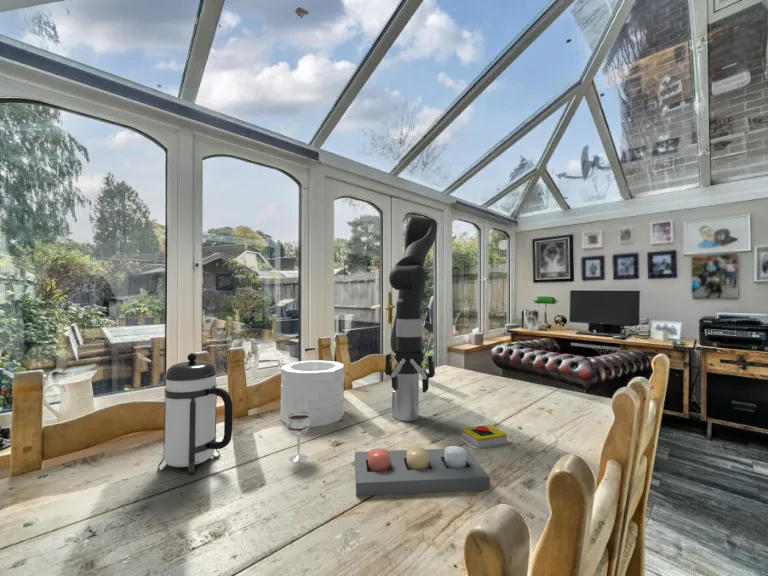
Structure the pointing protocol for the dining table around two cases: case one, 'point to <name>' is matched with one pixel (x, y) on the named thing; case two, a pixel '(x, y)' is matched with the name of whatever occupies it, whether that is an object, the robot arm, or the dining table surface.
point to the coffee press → (193, 414)
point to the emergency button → (484, 436)
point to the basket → (313, 390)
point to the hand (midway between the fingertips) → (410, 390)
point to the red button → (378, 460)
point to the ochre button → (417, 458)
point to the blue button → (455, 457)
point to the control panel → (418, 475)
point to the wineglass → (298, 430)
